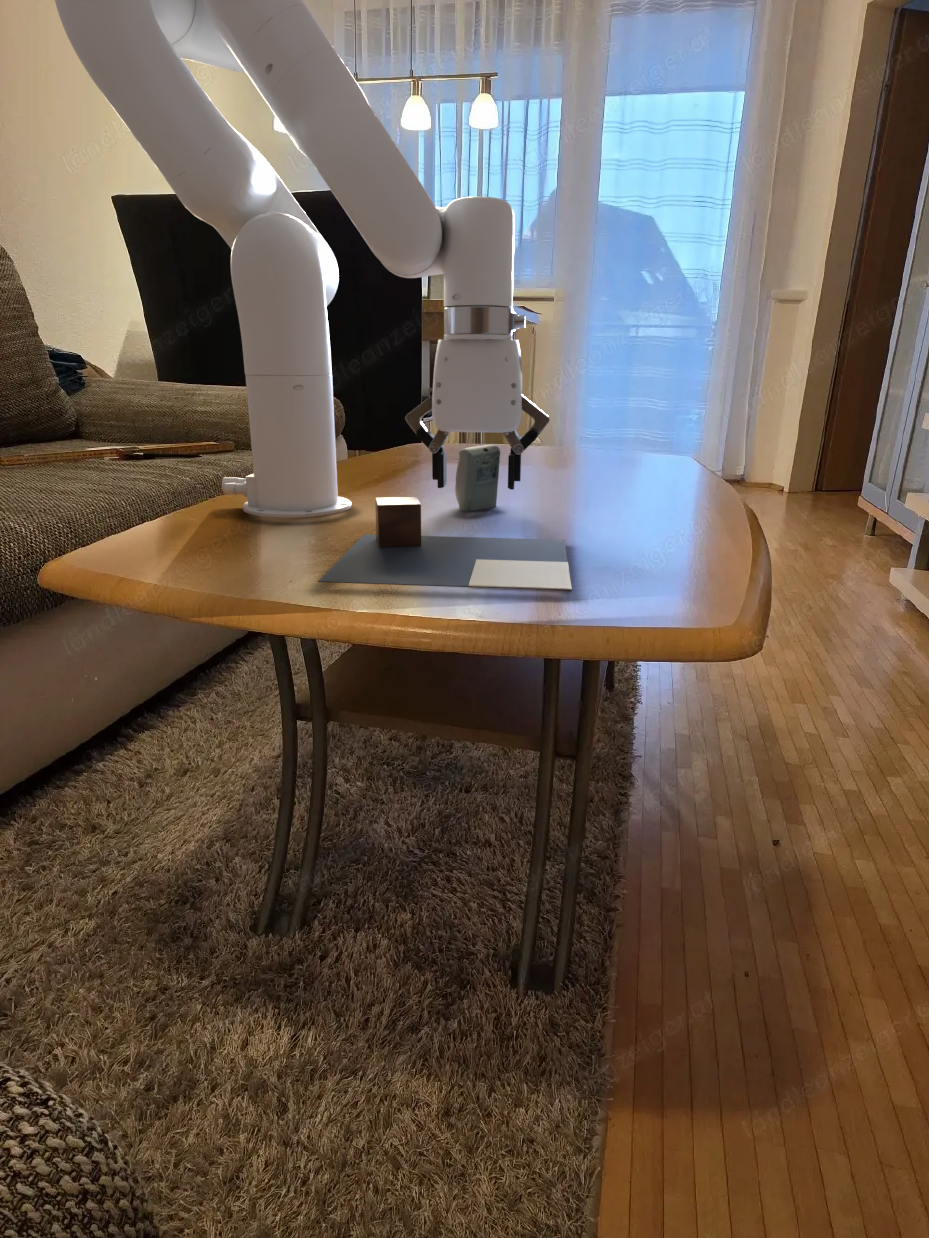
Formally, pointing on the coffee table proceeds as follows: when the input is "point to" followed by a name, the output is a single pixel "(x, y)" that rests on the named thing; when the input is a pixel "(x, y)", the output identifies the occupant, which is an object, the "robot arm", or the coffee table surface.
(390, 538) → the walnut block
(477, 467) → the grey charger brick
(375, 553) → the mat
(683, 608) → the coffee table surface
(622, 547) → the coffee table surface
